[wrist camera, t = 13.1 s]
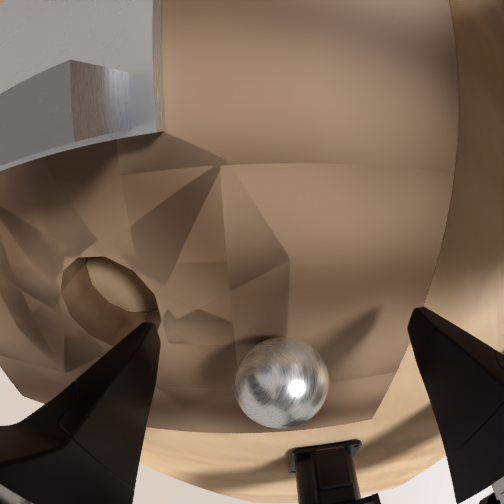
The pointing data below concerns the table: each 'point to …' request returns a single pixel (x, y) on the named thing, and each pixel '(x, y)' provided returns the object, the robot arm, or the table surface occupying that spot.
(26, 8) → the cover
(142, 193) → the wooden cutting board
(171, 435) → the table surface
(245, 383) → the ball
